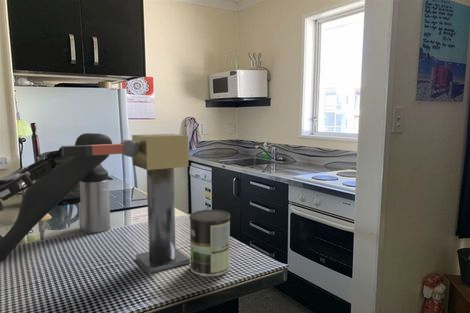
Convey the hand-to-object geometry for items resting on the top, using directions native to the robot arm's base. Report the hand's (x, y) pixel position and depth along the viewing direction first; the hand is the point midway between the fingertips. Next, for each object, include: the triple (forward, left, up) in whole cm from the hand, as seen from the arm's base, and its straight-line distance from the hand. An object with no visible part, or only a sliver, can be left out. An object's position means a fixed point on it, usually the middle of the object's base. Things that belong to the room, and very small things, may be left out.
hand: (48, 164), depth 77 cm
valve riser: (+15, +21, -28) cm, 39 cm away
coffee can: (+29, +21, -29) cm, 46 cm away
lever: (+6, +10, +1) cm, 12 cm away
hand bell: (-50, +41, -29) cm, 71 cm away
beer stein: (-62, +68, -29) cm, 96 cm away
